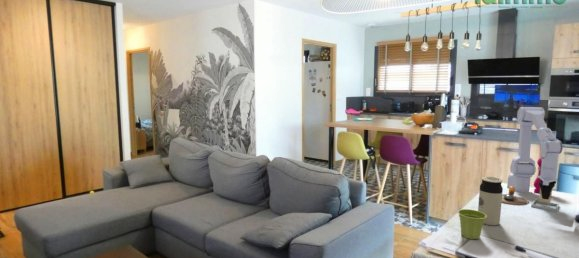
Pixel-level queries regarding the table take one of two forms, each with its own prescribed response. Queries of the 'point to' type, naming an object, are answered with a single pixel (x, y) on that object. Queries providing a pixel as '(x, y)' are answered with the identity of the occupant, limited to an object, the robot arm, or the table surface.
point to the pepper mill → (536, 182)
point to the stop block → (545, 199)
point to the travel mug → (490, 199)
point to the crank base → (515, 201)
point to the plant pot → (471, 223)
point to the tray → (545, 207)
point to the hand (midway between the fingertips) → (545, 197)
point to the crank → (510, 193)
